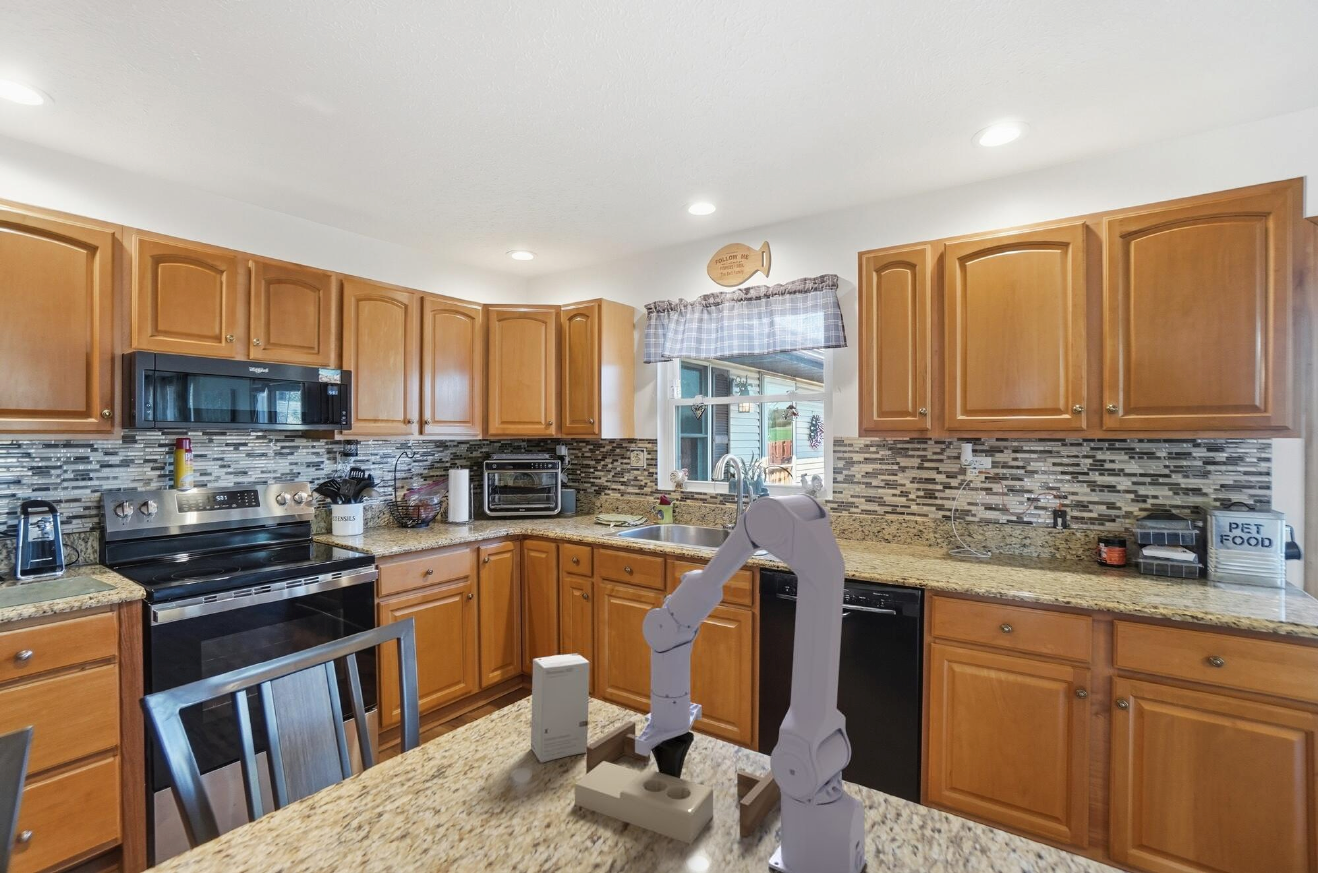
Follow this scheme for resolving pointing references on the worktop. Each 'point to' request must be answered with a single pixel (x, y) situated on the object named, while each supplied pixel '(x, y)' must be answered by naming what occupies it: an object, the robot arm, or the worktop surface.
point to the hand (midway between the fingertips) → (670, 785)
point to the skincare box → (559, 706)
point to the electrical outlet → (647, 800)
